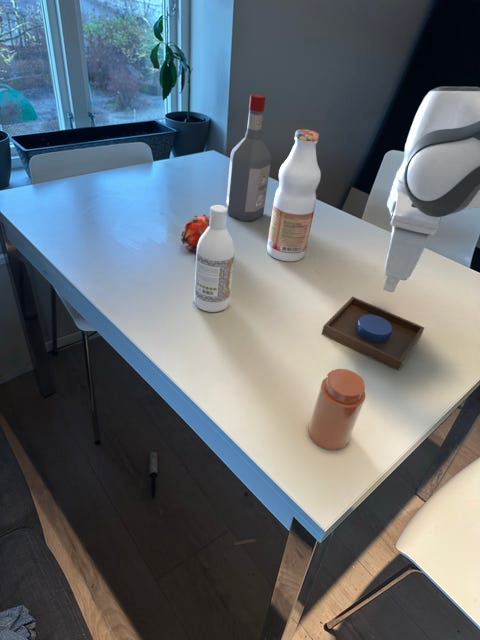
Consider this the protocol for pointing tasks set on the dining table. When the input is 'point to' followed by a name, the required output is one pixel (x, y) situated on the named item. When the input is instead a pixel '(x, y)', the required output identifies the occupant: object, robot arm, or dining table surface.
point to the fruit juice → (295, 199)
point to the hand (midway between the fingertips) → (391, 276)
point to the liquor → (249, 168)
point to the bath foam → (214, 263)
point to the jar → (337, 409)
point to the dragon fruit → (194, 231)
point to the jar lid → (374, 328)
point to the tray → (386, 352)
